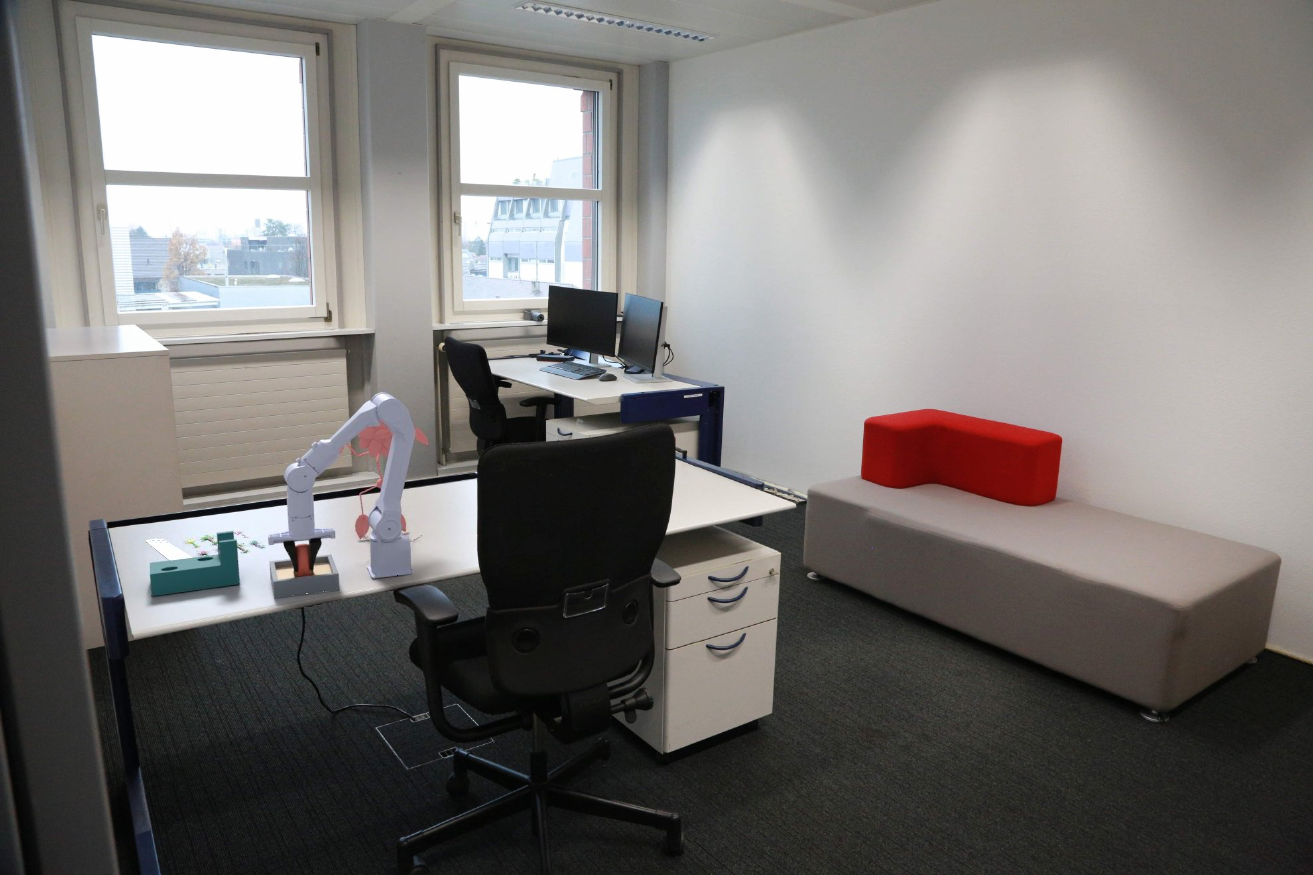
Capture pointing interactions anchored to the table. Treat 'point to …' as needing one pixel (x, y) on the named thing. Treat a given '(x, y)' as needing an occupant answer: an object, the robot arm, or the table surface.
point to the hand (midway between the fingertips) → (303, 569)
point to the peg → (303, 560)
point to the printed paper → (173, 551)
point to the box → (290, 584)
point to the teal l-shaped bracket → (198, 570)
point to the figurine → (377, 443)
